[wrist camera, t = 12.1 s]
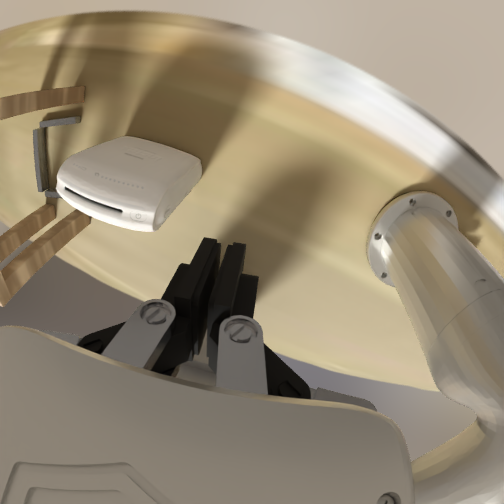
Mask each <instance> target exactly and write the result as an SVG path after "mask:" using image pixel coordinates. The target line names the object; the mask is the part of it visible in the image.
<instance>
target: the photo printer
mask: <svg viewBox="0 0 504 504" xmlns="http://www.w3.org/2000/svg"><path fill="white" fill-rule="evenodd" d="M200 162H201V160H200V159H198V158H197V157H195V156H193V155H191V154H188V153H186V152H183V151H180V150H178V149H175V148H172V147H169V146H166V145H163V144H159V143H156V142H152V141H149V140H145V139H141V138H137V137H130V136H123V137H119V138H116V139H113V140H110V141H107V142H104V143H102V144H99V145H96V146H93V147H91V148H88V149H86V150H83V151H81V152H78V153H76V154H73V155H71V156H70V157H69V158H67V159H66V160H65V161H64V163H63V164H62V166H61V167H60V169H59V171H58V174H57V186H56V190H57V192H58V193H59V195H60V196H61V197H62V198H63V199H64V200H65V201H66V202H68V203H69V204H70V205H72V206H73V207H75V208H76V209H78V210H80V211H81V212H83V213H85V214H87V215H88V216H92V217H93V218H95V219H99V220H101V221H104V222H106V223H109V224H112V225H116V226H119V227H123V228H127V229H132V230H137V231H146V232H155V231H157V230H158V229H159V228H160V227H161V225H162V224H163V223H164V222H165V221H166V219H167V218H168V217H169V216H170V215H171V213H172V212H173V211H174V210H175V209H176V207H177V206H178V205H179V204H180V203H181V202H182V200H183V199H184V198H185V197H186V196H187V195H188V194H189V193H190V191H191V190H192V188H193V187H194V186H195V185H196V184H197V183H198V182H199V180H200V178H201V176H202V166H201V163H200Z"/></svg>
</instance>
